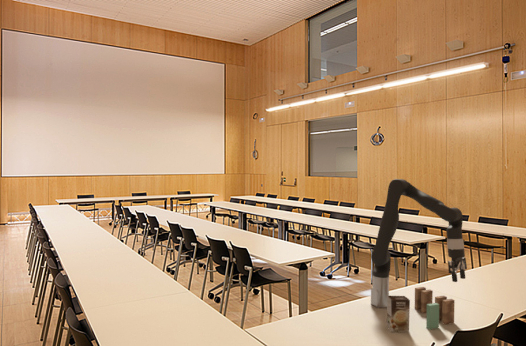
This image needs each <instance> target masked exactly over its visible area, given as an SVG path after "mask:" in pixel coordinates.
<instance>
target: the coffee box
mask: <svg viewBox="0 0 526 346" xmlns="http://www.w3.org/2000/svg"><path fill="white" fill-rule="evenodd" d="M410 305H411V300H410V298H408V297H406V295H389V296H388V298H387V307H386V328H387V329H388V330H389V332H391V333H409V332H410V312H411V311H410V308H411V307H410Z"/></svg>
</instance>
